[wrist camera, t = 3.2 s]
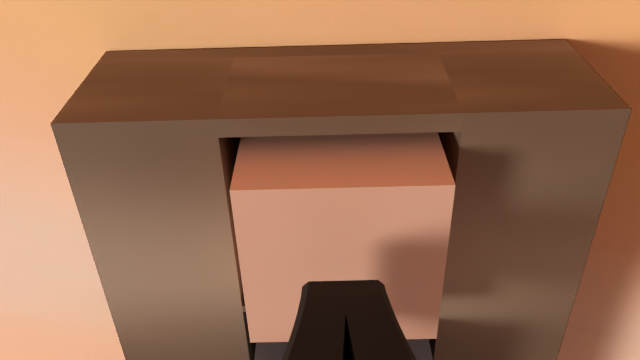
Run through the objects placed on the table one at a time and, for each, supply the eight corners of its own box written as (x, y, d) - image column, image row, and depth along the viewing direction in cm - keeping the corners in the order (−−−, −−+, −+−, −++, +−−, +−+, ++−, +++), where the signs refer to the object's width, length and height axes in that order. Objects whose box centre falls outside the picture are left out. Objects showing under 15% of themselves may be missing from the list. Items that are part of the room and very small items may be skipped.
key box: (484, 418, 23) (509, 515, 20) (195, 424, 23) (177, 521, 20) (565, 39, 14) (631, 108, 11) (106, 51, 14) (50, 123, 11)
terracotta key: (415, 241, 15) (436, 338, 13) (261, 245, 15) (250, 342, 13) (427, 103, 13) (455, 185, 10) (246, 107, 13) (229, 190, 11)
